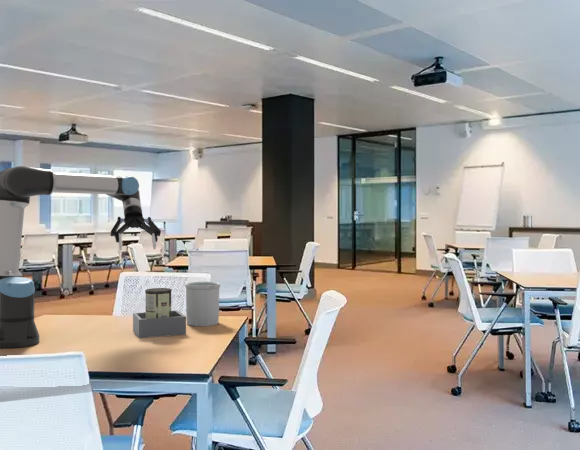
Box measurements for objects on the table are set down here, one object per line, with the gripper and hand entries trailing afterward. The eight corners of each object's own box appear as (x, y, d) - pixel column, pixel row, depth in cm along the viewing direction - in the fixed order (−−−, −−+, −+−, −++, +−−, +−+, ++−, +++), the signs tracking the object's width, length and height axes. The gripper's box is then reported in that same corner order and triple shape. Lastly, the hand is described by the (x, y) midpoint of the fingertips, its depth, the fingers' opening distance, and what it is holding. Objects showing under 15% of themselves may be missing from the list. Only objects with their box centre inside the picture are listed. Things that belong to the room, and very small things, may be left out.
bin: (138, 338, 209) (139, 319, 209) (132, 330, 224) (132, 313, 224) (185, 334, 217) (186, 316, 217) (177, 327, 231) (177, 310, 231)
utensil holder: (217, 326, 232) (217, 285, 232) (181, 326, 233) (182, 285, 232) (222, 320, 247) (222, 281, 247) (189, 320, 247) (189, 281, 247)
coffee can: (156, 321, 227) (156, 287, 227) (176, 323, 223) (176, 288, 223) (139, 325, 218) (139, 290, 218) (160, 328, 213) (160, 291, 213)
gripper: (160, 217, 246) (167, 252, 233) (101, 216, 236) (105, 253, 223) (163, 205, 241) (169, 240, 228) (103, 204, 231) (106, 241, 218)
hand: (138, 247), depth 225 cm, fingers open, 13 cm apart
